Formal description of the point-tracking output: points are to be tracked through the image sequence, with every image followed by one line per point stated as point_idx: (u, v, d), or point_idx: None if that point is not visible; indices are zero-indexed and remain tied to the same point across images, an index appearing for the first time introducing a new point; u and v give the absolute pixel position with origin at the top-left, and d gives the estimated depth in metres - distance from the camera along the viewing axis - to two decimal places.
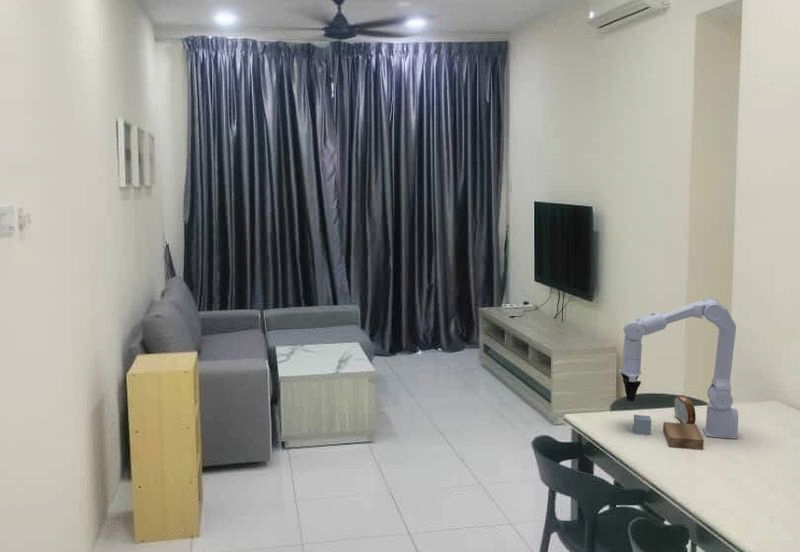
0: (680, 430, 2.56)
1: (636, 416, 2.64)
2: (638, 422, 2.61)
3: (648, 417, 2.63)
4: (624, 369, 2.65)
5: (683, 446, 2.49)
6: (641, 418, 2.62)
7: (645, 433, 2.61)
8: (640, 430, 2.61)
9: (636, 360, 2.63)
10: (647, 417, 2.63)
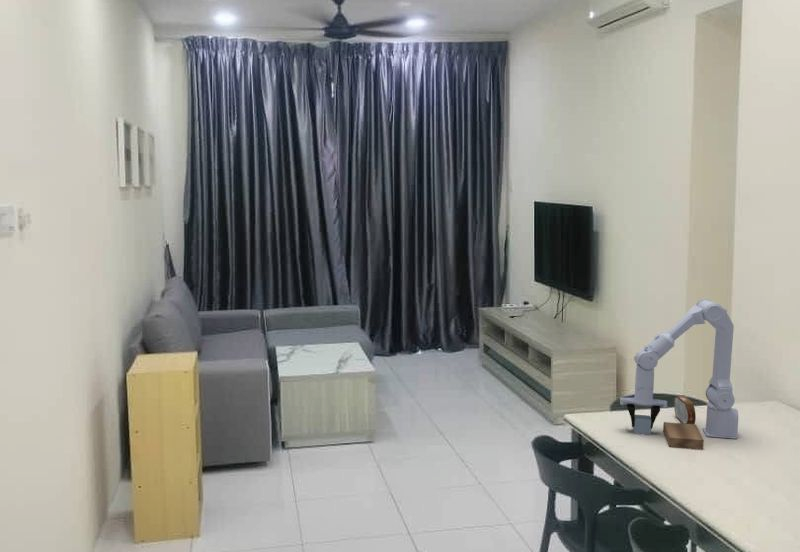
0: (680, 430, 2.56)
1: (636, 416, 2.64)
2: (638, 421, 2.61)
3: (648, 417, 2.63)
4: None
5: (683, 446, 2.49)
6: (641, 418, 2.62)
7: (645, 433, 2.61)
8: (640, 430, 2.61)
9: (636, 388, 2.61)
10: (647, 417, 2.63)
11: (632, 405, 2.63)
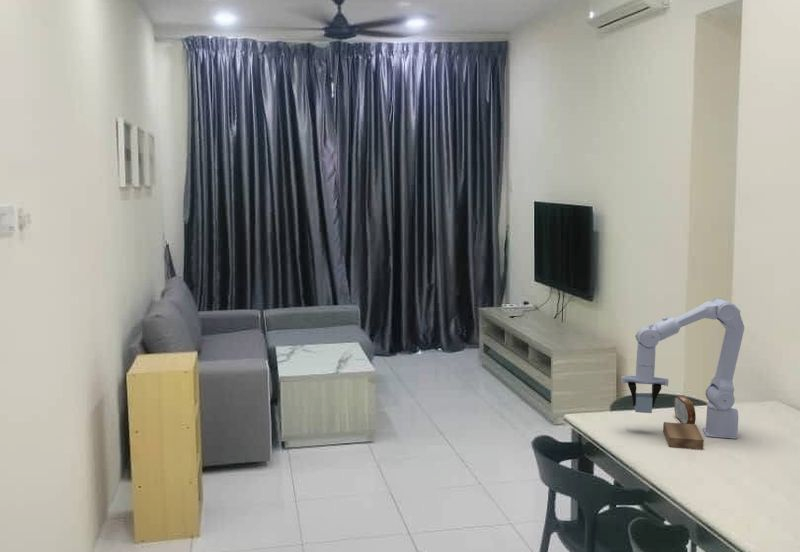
0: (680, 430, 2.56)
1: (637, 394, 2.63)
2: (639, 399, 2.60)
3: (649, 395, 2.63)
4: None
5: (683, 446, 2.49)
6: (643, 396, 2.61)
7: (646, 411, 2.60)
8: (641, 408, 2.61)
9: (637, 366, 2.60)
10: (649, 395, 2.62)
11: (633, 383, 2.62)
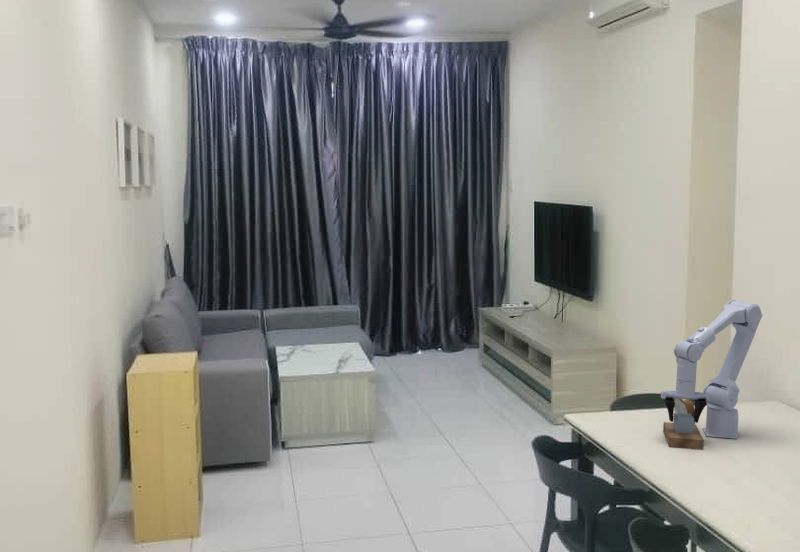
0: None
1: (677, 414, 2.56)
2: (681, 420, 2.53)
3: (689, 415, 2.56)
4: None
5: (683, 446, 2.49)
6: (684, 416, 2.54)
7: (688, 431, 2.54)
8: (683, 429, 2.54)
9: (678, 381, 2.53)
10: (689, 415, 2.56)
11: None
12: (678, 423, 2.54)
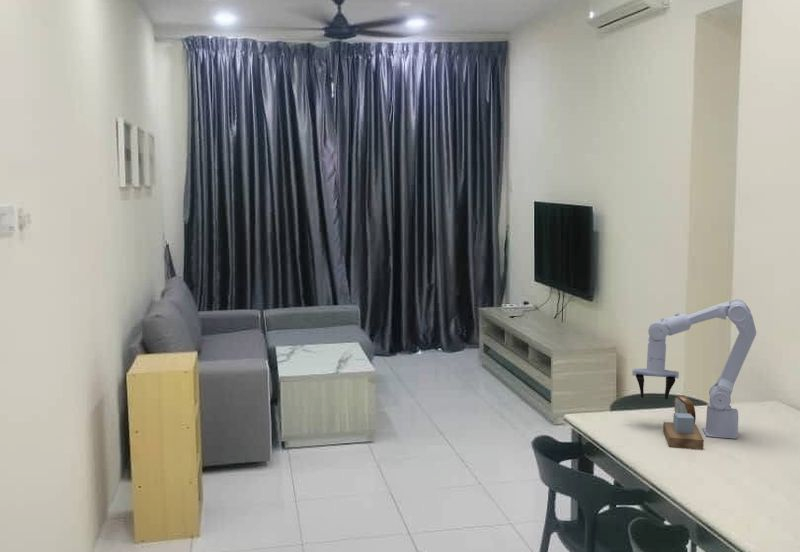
0: None
1: (677, 414, 2.56)
2: (681, 420, 2.53)
3: (689, 415, 2.56)
4: None
5: (683, 446, 2.49)
6: (684, 416, 2.54)
7: (688, 431, 2.54)
8: (683, 429, 2.54)
9: (648, 358, 2.66)
10: (689, 415, 2.56)
11: None
12: (678, 423, 2.54)
